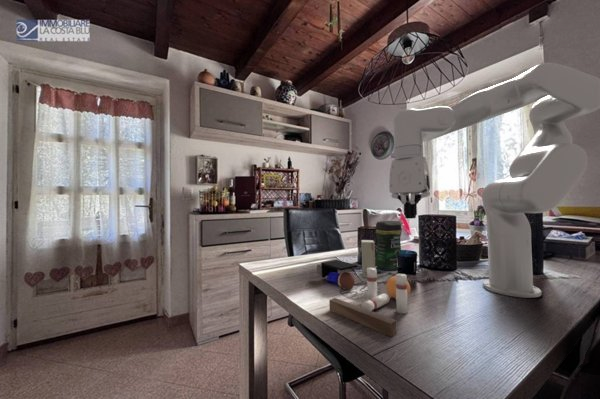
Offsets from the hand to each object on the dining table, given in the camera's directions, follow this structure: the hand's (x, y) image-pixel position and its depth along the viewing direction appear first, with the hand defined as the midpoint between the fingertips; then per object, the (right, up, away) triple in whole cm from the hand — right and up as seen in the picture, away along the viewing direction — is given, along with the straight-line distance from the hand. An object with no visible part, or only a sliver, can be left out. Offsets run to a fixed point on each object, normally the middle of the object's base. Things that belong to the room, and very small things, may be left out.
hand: (410, 218), depth 70 cm
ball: (-6, -18, -5) cm, 20 cm away
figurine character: (-20, -22, +8) cm, 31 cm away
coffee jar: (+3, -22, +26) cm, 34 cm away
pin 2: (-8, -21, -13) cm, 26 cm away
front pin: (-10, -20, -7) cm, 23 cm away
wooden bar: (-19, -21, -17) cm, 33 cm away
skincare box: (-7, -22, +17) cm, 28 cm away
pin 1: (-13, -21, -6) cm, 26 cm away
